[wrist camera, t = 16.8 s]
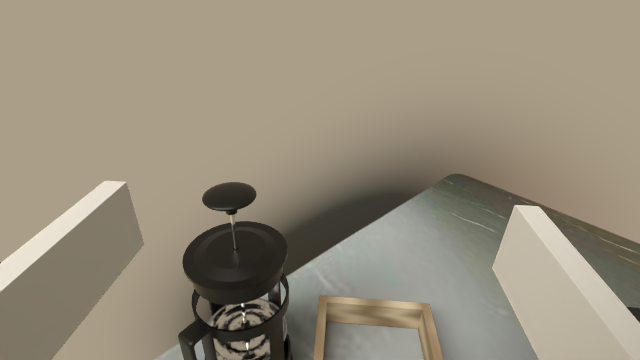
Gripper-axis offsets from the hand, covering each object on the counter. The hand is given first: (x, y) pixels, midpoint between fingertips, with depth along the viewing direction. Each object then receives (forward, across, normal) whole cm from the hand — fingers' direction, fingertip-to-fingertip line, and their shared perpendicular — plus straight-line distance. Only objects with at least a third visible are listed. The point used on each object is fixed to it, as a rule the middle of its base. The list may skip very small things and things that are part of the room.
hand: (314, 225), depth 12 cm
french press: (+13, -8, -30) cm, 34 cm away
